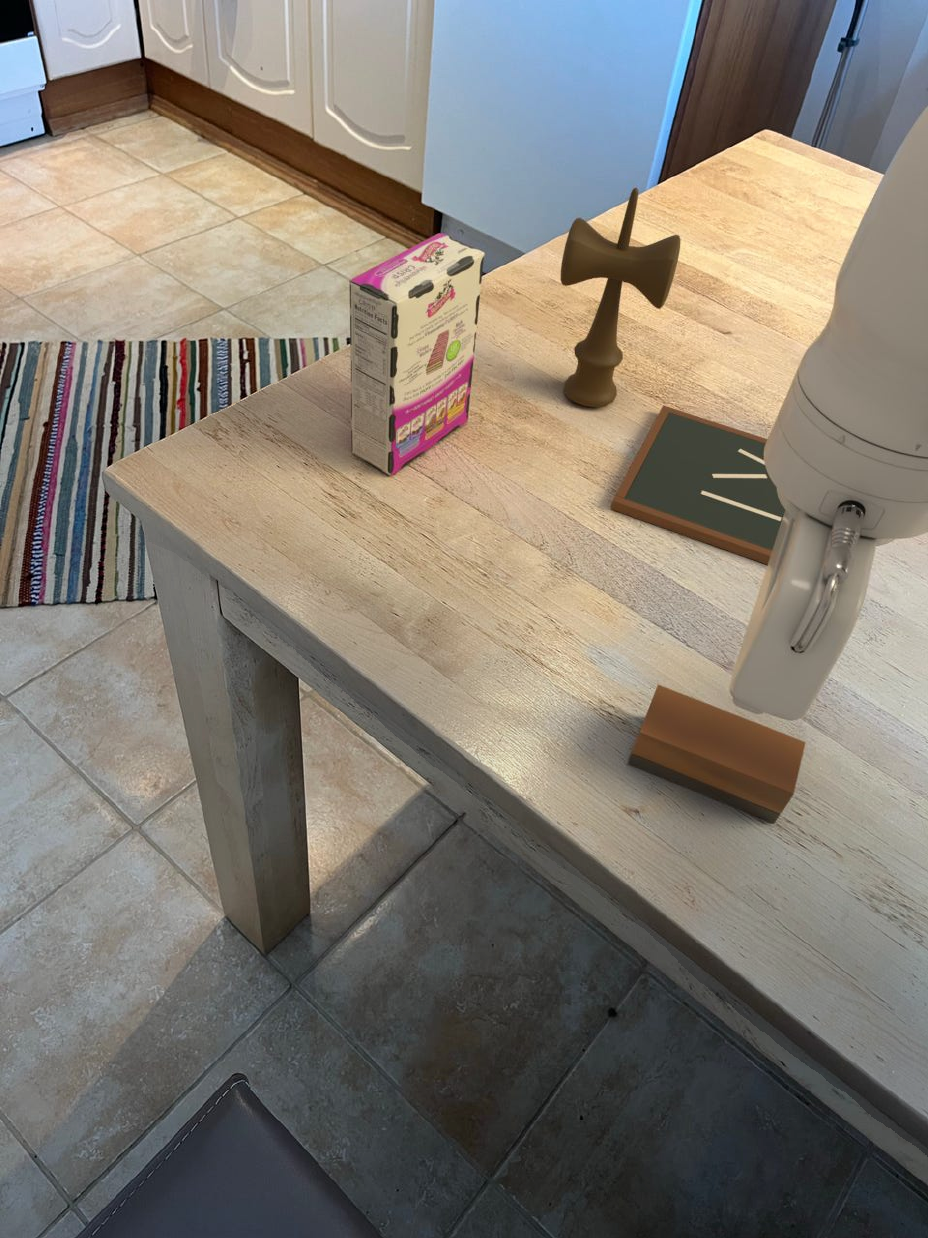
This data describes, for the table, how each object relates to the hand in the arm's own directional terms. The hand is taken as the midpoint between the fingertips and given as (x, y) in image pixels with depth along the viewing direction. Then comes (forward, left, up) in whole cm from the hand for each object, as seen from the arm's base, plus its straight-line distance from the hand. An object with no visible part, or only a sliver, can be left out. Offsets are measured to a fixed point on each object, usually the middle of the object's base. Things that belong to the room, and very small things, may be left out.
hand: (766, 642), depth 54 cm
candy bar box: (+33, -22, -13) cm, 41 cm away
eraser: (0, 0, -13) cm, 13 cm away
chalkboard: (+4, -30, -13) cm, 33 cm away
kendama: (+21, -37, -13) cm, 44 cm away
